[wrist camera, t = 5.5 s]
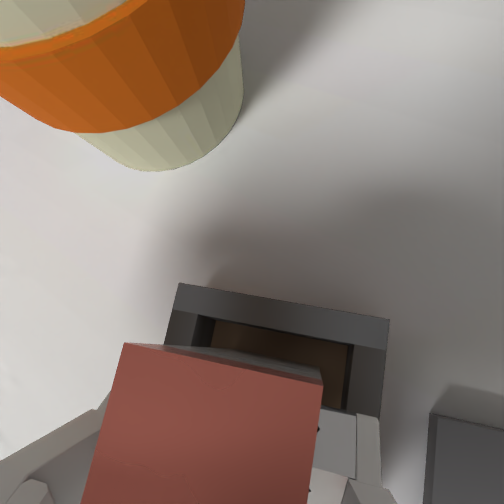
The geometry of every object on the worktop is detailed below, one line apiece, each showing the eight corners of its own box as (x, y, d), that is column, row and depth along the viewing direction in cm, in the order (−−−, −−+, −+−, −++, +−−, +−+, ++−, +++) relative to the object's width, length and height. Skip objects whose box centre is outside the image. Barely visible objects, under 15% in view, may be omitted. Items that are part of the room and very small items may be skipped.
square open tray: (380, 322, 15) (398, 313, 12) (356, 538, 13) (370, 599, 10) (202, 290, 17) (174, 275, 14) (158, 478, 15) (114, 514, 12)
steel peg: (318, 366, 14) (323, 386, 6) (304, 463, 13) (284, 657, 5) (233, 348, 15) (124, 342, 6) (215, 439, 14) (61, 571, 6)
